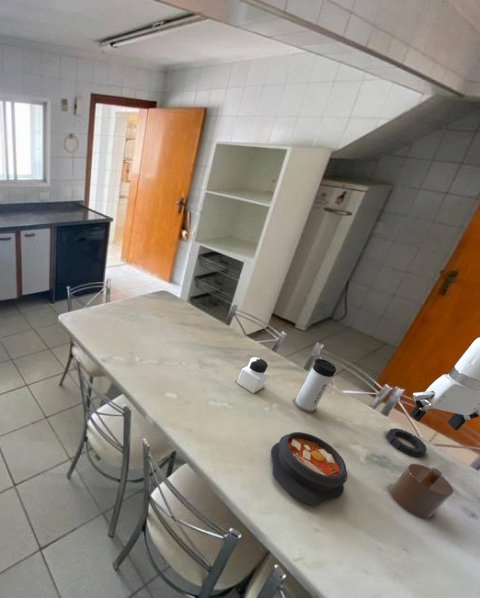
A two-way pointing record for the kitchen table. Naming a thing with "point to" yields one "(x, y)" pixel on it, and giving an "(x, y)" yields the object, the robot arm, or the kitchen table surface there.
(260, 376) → the medicine bottle
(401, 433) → the black segmented ring
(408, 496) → the brown cylinder
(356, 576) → the kitchen table surface
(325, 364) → the travel mug
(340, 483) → the casserole
